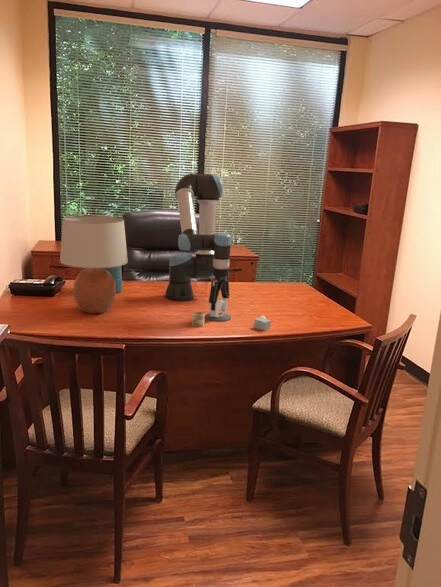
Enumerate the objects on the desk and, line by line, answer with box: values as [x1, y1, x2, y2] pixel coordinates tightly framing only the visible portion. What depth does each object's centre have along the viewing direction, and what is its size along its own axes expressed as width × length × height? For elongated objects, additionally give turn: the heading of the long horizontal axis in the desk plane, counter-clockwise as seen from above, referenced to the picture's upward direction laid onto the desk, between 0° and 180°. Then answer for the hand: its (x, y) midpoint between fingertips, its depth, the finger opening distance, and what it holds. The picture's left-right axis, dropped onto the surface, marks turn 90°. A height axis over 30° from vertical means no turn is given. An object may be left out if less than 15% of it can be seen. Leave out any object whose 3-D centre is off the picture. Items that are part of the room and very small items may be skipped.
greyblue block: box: [253, 317, 272, 332], centre depth 216 cm, size 6×4×4 cm, turn 48°
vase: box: [103, 266, 124, 294], centre depth 260 cm, size 16×16×27 cm
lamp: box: [59, 215, 129, 314], centre depth 222 cm, size 30×30×43 cm
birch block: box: [191, 311, 206, 327], centre depth 216 cm, size 5×5×5 cm
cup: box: [208, 298, 229, 317], centre depth 226 cm, size 7×10×8 cm
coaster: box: [205, 312, 232, 322], centre depth 228 cm, size 12×12×1 cm
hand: (218, 313), depth 228 cm, fingers open, 9 cm apart
